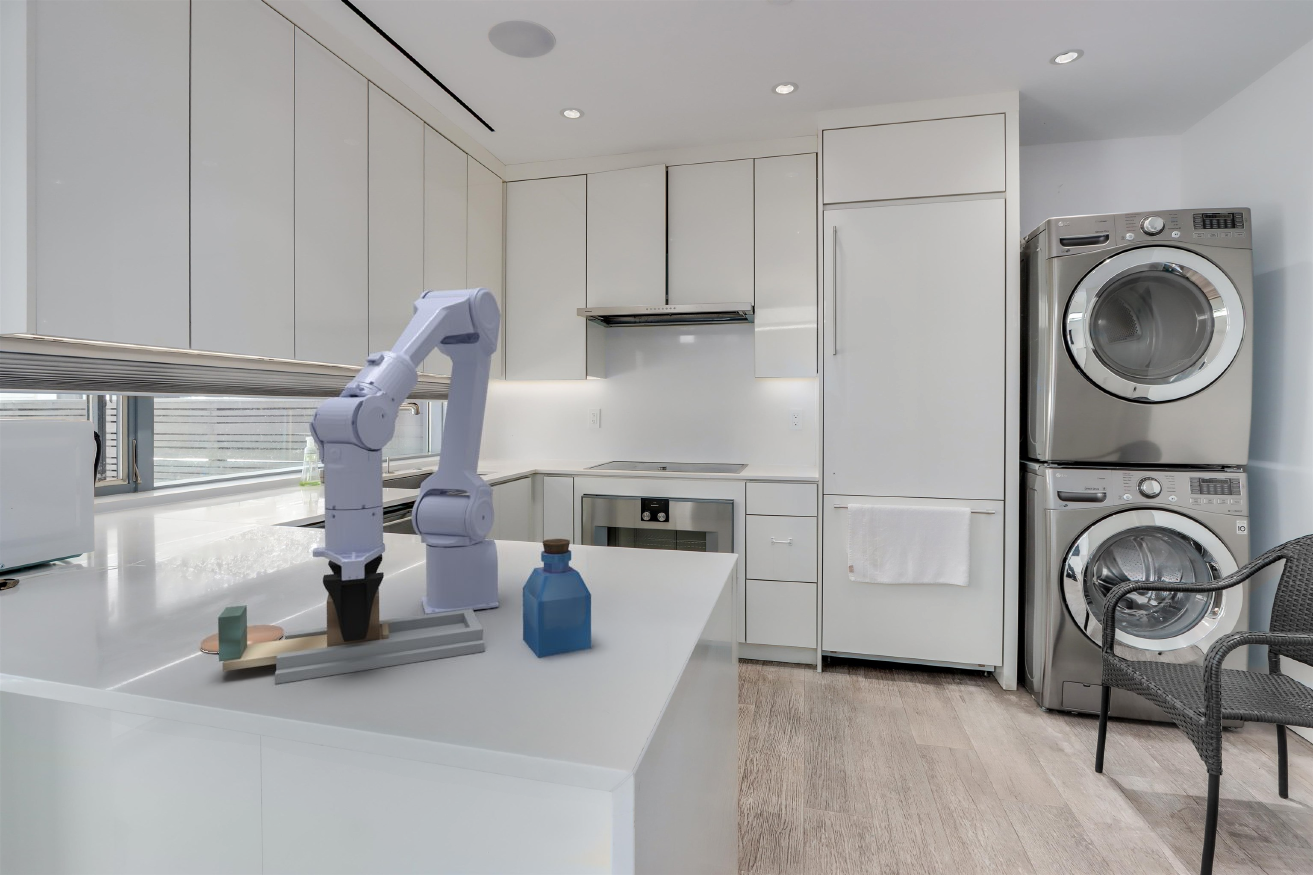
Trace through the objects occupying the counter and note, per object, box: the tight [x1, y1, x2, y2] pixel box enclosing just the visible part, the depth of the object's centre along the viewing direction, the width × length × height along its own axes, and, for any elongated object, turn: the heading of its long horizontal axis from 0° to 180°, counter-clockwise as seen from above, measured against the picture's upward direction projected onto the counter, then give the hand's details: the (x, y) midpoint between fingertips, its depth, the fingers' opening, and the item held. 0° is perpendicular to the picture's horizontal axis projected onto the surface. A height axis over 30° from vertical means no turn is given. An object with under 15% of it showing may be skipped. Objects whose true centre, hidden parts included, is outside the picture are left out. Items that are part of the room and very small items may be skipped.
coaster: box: [200, 624, 285, 653], centre depth 71 cm, size 8×8×1 cm
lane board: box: [274, 609, 485, 685], centre depth 68 cm, size 20×10×2 cm, turn 115°
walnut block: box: [326, 588, 380, 647], centre depth 67 cm, size 5×5×5 cm
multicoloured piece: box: [217, 604, 389, 672], centre depth 65 cm, size 15×5×5 cm, turn 115°
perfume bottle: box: [522, 538, 592, 659], centre depth 70 cm, size 6×6×12 cm
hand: (355, 629), depth 67 cm, fingers open, 6 cm apart
